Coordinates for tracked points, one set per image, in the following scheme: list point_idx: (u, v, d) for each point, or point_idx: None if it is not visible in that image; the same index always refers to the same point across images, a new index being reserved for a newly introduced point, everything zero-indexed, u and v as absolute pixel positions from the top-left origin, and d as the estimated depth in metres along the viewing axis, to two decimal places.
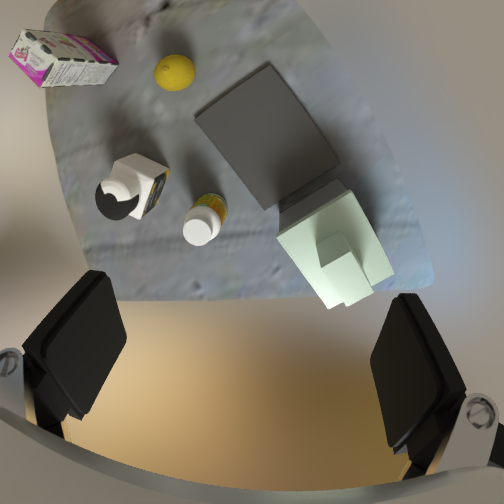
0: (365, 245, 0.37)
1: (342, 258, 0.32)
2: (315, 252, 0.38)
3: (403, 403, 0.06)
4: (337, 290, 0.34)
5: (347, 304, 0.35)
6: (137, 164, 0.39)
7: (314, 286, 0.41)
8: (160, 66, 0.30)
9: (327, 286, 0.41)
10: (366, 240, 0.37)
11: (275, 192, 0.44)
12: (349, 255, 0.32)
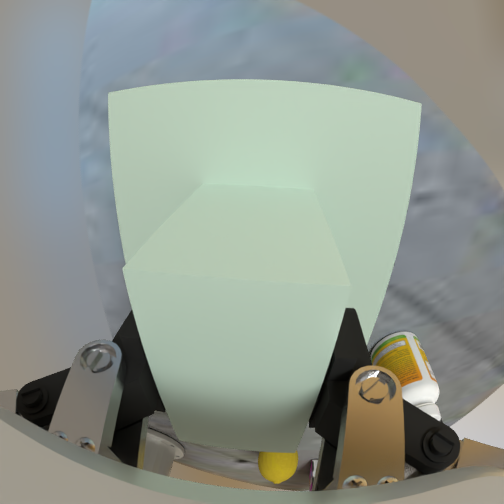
0: None
1: (212, 443, 0.08)
2: None
3: None
4: (311, 392, 0.06)
5: (332, 299, 0.05)
6: None
7: (396, 229, 0.10)
8: None
9: (366, 198, 0.10)
10: None
11: None
12: (187, 437, 0.08)
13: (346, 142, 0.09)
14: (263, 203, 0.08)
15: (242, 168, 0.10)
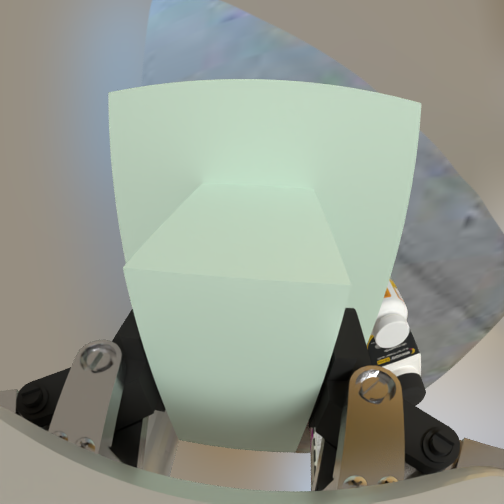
0: None
1: (213, 443, 0.08)
2: None
3: None
4: (311, 391, 0.06)
5: (332, 298, 0.05)
6: None
7: (396, 228, 0.10)
8: None
9: (366, 198, 0.10)
10: None
11: None
12: (188, 436, 0.08)
13: (346, 142, 0.09)
14: (264, 202, 0.08)
15: (242, 168, 0.10)
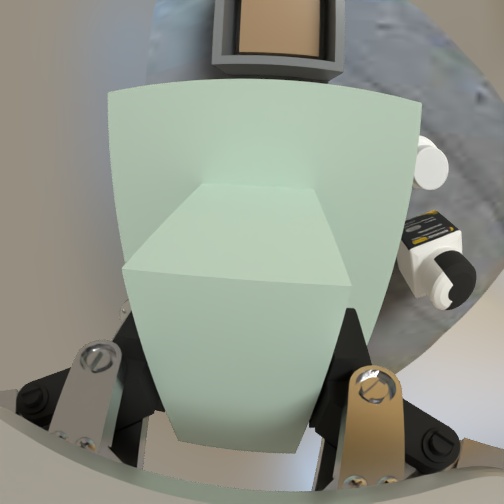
0: None
1: (212, 444, 0.08)
2: None
3: None
4: (312, 393, 0.06)
5: (332, 300, 0.05)
6: (406, 270, 0.31)
7: (396, 229, 0.10)
8: None
9: (366, 198, 0.10)
10: None
11: None
12: (187, 437, 0.08)
13: (346, 142, 0.09)
14: (263, 203, 0.08)
15: (242, 168, 0.10)
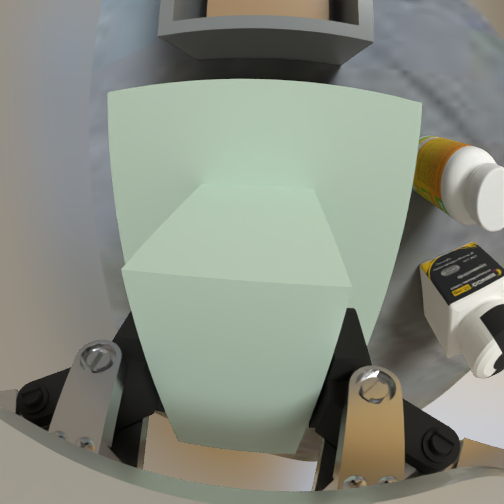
0: None
1: (212, 444, 0.08)
2: None
3: None
4: (312, 393, 0.06)
5: (332, 301, 0.05)
6: (439, 323, 0.22)
7: (397, 229, 0.10)
8: None
9: (366, 198, 0.10)
10: None
11: None
12: (187, 438, 0.08)
13: (346, 142, 0.09)
14: (263, 203, 0.08)
15: (242, 168, 0.10)
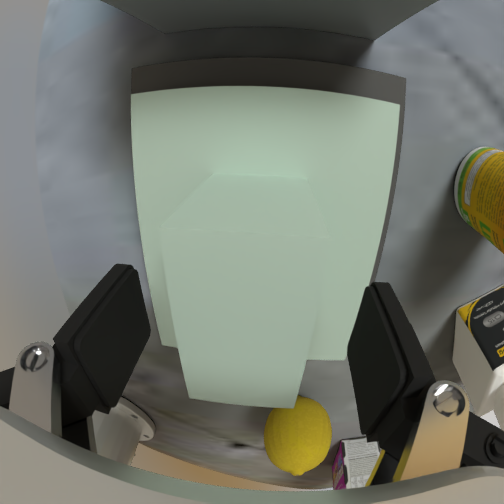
0: None
1: (220, 399, 0.10)
2: None
3: (373, 389, 0.06)
4: (305, 336, 0.08)
5: (317, 249, 0.06)
6: (473, 380, 0.15)
7: (380, 212, 0.12)
8: None
9: (352, 186, 0.12)
10: None
11: (346, 91, 0.12)
12: (198, 393, 0.10)
13: (334, 138, 0.11)
14: (265, 187, 0.10)
15: (247, 160, 0.12)
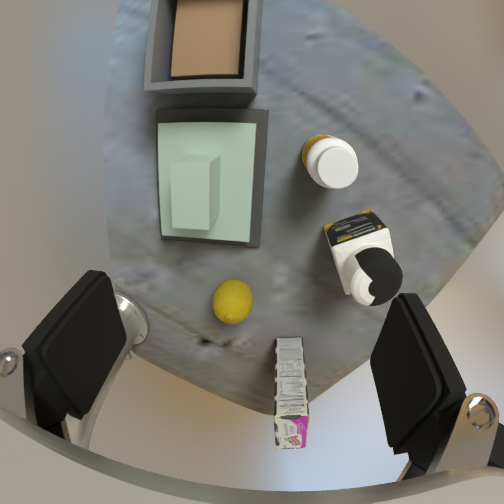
0: None
1: (183, 226, 0.29)
2: (224, 203, 0.34)
3: (403, 403, 0.06)
4: (207, 192, 0.28)
5: (206, 165, 0.26)
6: None
7: (250, 166, 0.32)
8: (231, 322, 0.37)
9: (238, 156, 0.32)
10: (170, 182, 0.34)
11: (241, 119, 0.32)
12: (175, 223, 0.29)
13: (230, 139, 0.31)
14: (202, 156, 0.30)
15: (199, 148, 0.31)
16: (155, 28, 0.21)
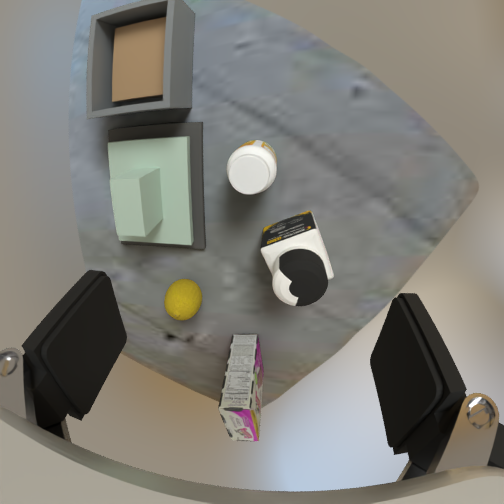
0: None
1: (125, 233, 0.32)
2: (166, 211, 0.37)
3: (403, 403, 0.06)
4: (140, 204, 0.30)
5: (137, 181, 0.29)
6: None
7: (185, 176, 0.34)
8: (179, 318, 0.40)
9: (174, 168, 0.34)
10: None
11: (177, 133, 0.34)
12: (119, 231, 0.32)
13: (166, 153, 0.33)
14: (141, 171, 0.33)
15: (141, 163, 0.34)
16: (93, 61, 0.24)
